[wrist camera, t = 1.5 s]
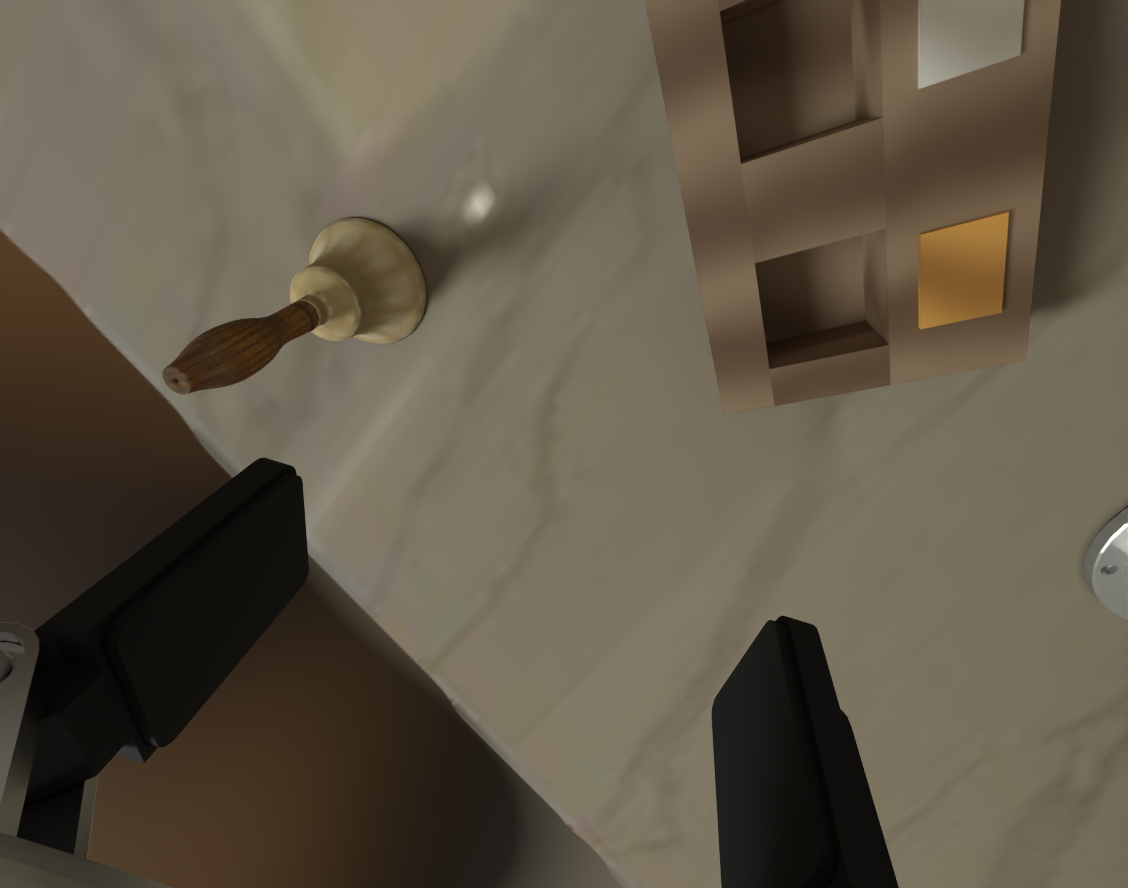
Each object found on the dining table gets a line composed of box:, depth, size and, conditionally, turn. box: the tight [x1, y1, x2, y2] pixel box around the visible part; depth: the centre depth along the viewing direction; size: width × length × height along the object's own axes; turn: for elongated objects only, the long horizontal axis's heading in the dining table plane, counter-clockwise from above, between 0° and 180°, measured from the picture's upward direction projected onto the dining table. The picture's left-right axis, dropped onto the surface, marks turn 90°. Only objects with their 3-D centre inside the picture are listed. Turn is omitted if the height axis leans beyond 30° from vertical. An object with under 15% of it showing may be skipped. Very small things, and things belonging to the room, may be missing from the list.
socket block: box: [645, 0, 1061, 415], centre depth 24 cm, size 20×14×5 cm
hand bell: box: [162, 218, 426, 394], centre depth 28 cm, size 8×8×16 cm
